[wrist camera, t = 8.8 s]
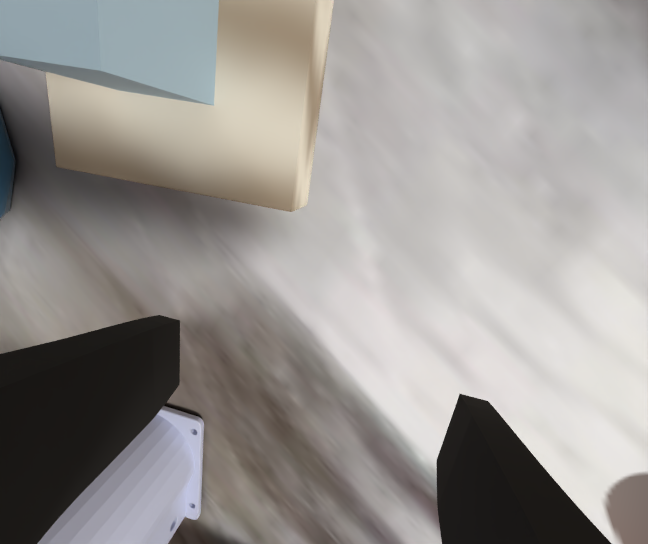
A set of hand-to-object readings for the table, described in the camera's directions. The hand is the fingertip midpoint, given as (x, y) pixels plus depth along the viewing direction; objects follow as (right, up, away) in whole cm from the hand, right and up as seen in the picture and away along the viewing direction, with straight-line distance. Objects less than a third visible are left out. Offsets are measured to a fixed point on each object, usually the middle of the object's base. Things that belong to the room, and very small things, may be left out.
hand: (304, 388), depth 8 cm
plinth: (-5, +13, +7) cm, 16 cm away
